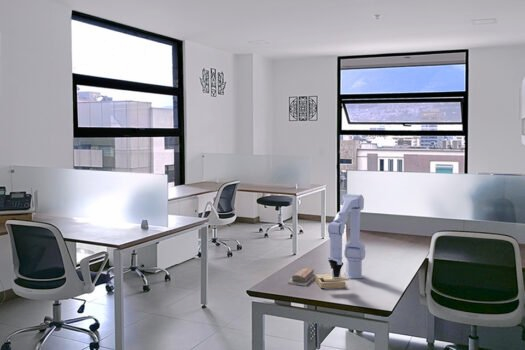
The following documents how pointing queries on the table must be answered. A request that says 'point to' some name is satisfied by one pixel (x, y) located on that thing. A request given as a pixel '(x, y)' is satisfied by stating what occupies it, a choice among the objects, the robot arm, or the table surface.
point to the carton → (328, 282)
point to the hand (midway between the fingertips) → (335, 275)
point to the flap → (332, 278)
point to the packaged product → (302, 277)
